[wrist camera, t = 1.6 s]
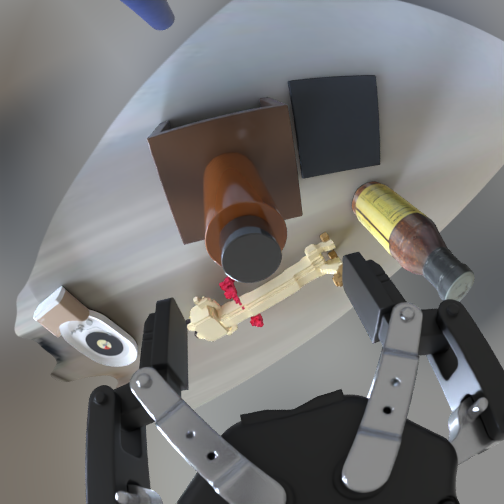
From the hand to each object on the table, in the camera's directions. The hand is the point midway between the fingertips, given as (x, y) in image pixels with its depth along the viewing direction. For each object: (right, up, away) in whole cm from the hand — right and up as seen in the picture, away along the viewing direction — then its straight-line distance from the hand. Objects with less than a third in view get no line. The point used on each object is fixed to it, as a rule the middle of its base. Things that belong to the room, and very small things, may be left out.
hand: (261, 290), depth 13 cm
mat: (+10, +17, +18) cm, 26 cm away
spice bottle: (-2, +8, +12) cm, 14 cm away
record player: (-29, -12, +31) cm, 44 cm away
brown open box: (-4, +13, +18) cm, 22 cm away
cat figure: (0, -3, +30) cm, 30 cm away
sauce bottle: (+16, +9, +24) cm, 31 cm away
